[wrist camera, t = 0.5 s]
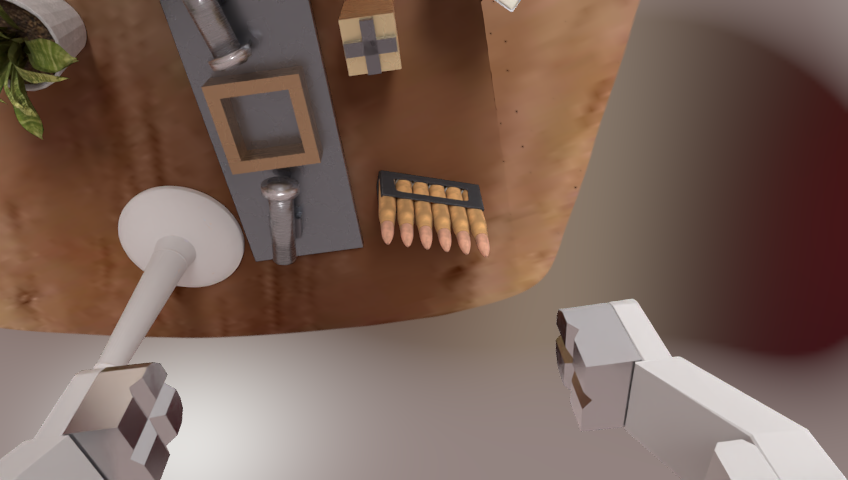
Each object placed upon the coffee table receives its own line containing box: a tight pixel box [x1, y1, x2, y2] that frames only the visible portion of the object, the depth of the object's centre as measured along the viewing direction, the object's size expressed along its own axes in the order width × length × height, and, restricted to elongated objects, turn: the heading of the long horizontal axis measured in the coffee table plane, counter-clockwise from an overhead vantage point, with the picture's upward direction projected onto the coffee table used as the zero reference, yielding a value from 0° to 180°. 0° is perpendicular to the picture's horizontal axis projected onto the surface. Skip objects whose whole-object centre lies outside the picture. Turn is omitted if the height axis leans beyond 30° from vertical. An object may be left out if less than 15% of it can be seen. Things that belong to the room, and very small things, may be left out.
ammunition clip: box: [377, 170, 490, 257], centre depth 51 cm, size 11×2×12 cm, turn 79°
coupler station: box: [160, 0, 363, 261], centre depth 49 cm, size 32×12×4 cm, turn 7°
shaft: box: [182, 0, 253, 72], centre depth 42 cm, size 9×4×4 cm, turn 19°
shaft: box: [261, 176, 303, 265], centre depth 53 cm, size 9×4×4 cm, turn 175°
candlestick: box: [93, 186, 244, 369], centre depth 45 cm, size 13×13×30 cm
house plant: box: [0, 0, 87, 139], centre depth 38 cm, size 14×14×16 cm
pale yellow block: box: [338, 0, 402, 76], centre depth 42 cm, size 4×4×10 cm
